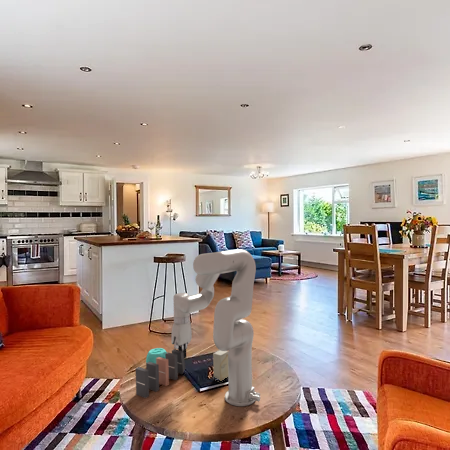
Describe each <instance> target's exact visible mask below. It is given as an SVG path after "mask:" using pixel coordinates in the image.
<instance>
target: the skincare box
mask: <svg viewBox="0 0 450 450" xmlns="http://www.w3.org/2000/svg"><path fill="white" fill-rule="evenodd" d="M228 352H229V350H228V351H221V350H219V349H218V350H217V351H216V352H213V354H212V358H213V359H212V360H213V362H212V363H213V365H212V366H213V368H212V369H213V378H214V377H215V378H217V379H219V380H220V381H222V380H224V379H225V378H227V377H228ZM227 379H228V378H227ZM224 381H225V380H224ZM222 382H223V381H222Z"/></svg>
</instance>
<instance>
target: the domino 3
mask: <svg viewBox="0 0 450 450" xmlns="http://www.w3.org/2000/svg"><path fill="white" fill-rule="evenodd" d="M156 364H159V385H163V386H165V387H166V386H168V385H170V380H169V379H170V378H169V367H168V359H165V358H161V357H158V358H156Z"/></svg>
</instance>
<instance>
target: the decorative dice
mask: <svg viewBox="0 0 450 450" xmlns="http://www.w3.org/2000/svg"><path fill="white" fill-rule="evenodd" d="M166 353H168V352H167V351H166V349H165V348H162V347H156V348H151V349H150V350H149V351H148V352H147V354H146V358H145V364H146V363H148V362H152V363H155V364H156V358H158V357H161V358H165V359H166V357H165V354H166Z"/></svg>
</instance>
